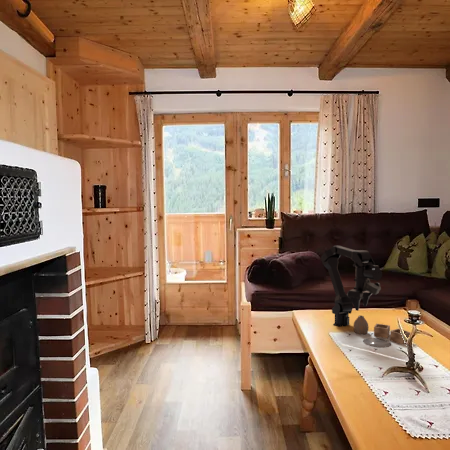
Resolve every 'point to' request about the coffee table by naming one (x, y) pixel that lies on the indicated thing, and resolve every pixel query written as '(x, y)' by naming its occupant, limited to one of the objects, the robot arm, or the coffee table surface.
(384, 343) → the coaster
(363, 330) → the vase
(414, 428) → the coffee table surface
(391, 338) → the box
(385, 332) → the box
